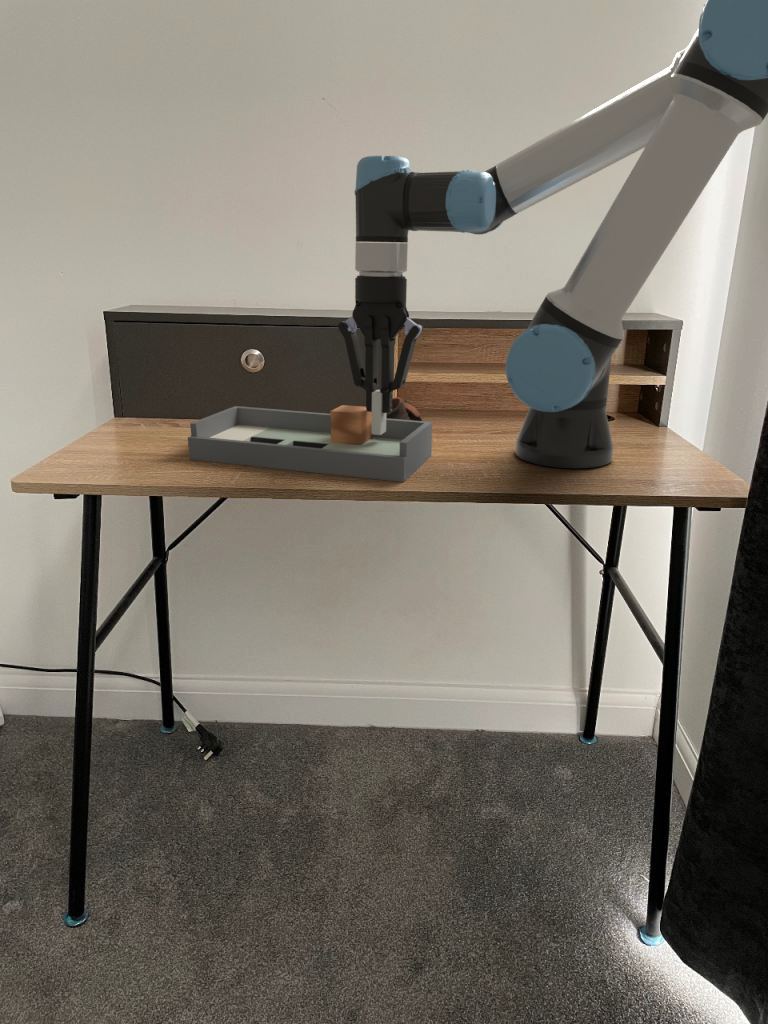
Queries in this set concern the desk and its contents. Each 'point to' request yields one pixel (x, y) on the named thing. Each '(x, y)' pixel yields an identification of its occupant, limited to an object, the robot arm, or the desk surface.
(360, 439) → the block
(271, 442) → the box
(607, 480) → the desk surface
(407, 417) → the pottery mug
